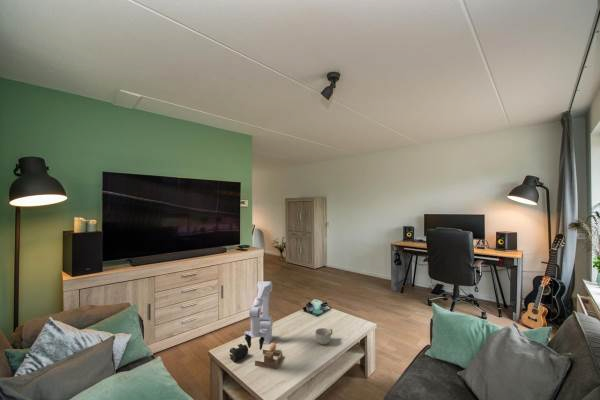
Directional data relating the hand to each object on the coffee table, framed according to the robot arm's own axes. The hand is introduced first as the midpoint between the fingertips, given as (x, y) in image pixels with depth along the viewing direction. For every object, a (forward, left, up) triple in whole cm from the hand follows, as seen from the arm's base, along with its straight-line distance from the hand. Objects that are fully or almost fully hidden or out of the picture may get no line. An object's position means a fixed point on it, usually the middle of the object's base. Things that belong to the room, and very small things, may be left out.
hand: (255, 348), depth 159 cm
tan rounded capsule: (-15, +6, -10) cm, 19 cm away
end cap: (-3, -13, -10) cm, 17 cm away
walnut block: (-5, +7, -10) cm, 13 cm away
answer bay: (-5, +7, -10) cm, 13 cm away
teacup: (-36, +38, -10) cm, 53 cm away
